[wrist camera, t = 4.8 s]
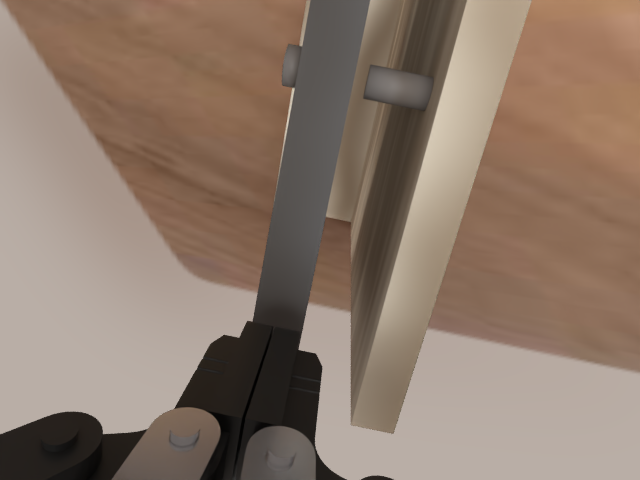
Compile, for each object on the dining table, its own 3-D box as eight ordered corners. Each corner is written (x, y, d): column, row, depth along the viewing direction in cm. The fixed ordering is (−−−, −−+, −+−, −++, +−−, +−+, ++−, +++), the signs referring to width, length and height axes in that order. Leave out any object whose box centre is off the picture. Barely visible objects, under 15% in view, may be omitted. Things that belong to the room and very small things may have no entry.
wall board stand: (479, -47, 32) (902, -503, 7) (404, 228, 39) (492, 454, 15) (322, -80, 32) (227, -639, 7) (276, 201, 39) (152, 383, 15)
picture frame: (379, -48, 24) (435, -318, 10) (316, 258, 28) (295, 362, 14) (343, -55, 24) (349, -335, 10) (284, 252, 28) (231, 349, 14)
